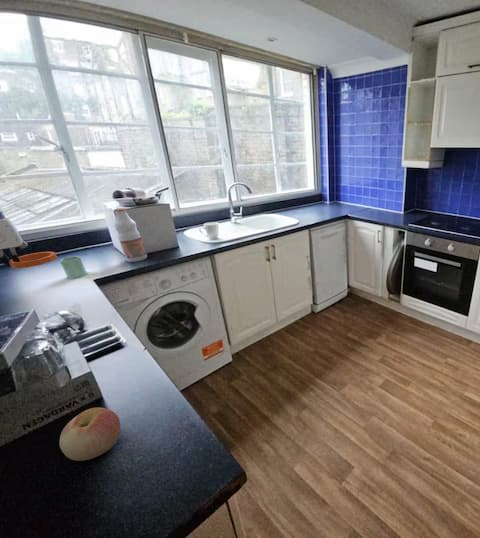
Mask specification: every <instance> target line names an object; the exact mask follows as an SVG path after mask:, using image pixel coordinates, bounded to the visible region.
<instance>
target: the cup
mask: <svg viewBox="0 0 480 538" xmlns="http://www.w3.org/2000/svg"><path fill="white" fill-rule="evenodd" d="M81 258H82V257H81V256H79V255H73V256H67V257H64V258H61V259H60V260H59V262H60V264H61V266H62V268H63V271H64V273H65V275H66V278H67V279H69V280H71V279H73V280H74V279H78V278H81V277H84V276H86V275H88V272H87V270H86V268H85V266H84V263H83V261H82V259H81Z"/></svg>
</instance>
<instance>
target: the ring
mask: <svg viewBox="0 0 480 538" xmlns="http://www.w3.org/2000/svg"><path fill="white" fill-rule="evenodd" d="M18 257H19V259H20V261H21V262H13V260H12V259H10V261H9V264H10V266H11V267H10V268H12V269H23V268H32V267H37V266H42V265H44V264H48V263H51V262H53V261H55V260H57V259H58V256H57V254H56V252H55V251H39V252H34V253H29V254H24V255H20V256H18Z"/></svg>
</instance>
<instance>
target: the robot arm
mask: <svg viewBox="0 0 480 538" xmlns="http://www.w3.org/2000/svg"><path fill="white" fill-rule="evenodd" d="M28 246H29V244H28V243H27V242H26V241H24V240H23V238H22V236H21V234H20V232H19V231H18V229H17V227H16V226H15V224H14V223H13V222H12V221H11V220H10V218H7V217H6V215H5V213H4V211H3V209H2V207H1V206H0V259H1V260H2V263H3V265H4V266H6V265H7V267H8V268H12V267H11V266H10V264H9V261H10V260H13V262H21V261H20V259H19V257H20V256H19V255H18V253H19V252H20V250H22V249H25V248H27V247H28ZM5 249H9V251H10V258H11V259H10V258H9V256H8V255H7V254H6V253H4V251H3V250H5Z"/></svg>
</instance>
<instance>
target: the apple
mask: <svg viewBox="0 0 480 538" xmlns="http://www.w3.org/2000/svg"><path fill="white" fill-rule="evenodd" d="M120 433H121V421H120V418H119V416H118V415H117V413H115V412H114V411H113V410H111V409H109V408H105V407H100V406H99V407H92V408H88V409H85V410H84V411H81V412H80V413H79V414H78V415H77V414H76V416H75V417H73V418H72V419H71V420H70V421H68V423H66V425H65V426H64V428H62V431H61V434H60V436H59V448H60V450H61V452H62V453H63V454H64V456H65V457H66V458H68V459H69V460H72V461H76V462H77V461H78V462H84V461H90V460H92V459H95V458H97V457H98V458H99V457H100V456H102V455H104V454H105V453H107V452H108V451H110V450H111V449H112V448H113V447H114V446H115V444H116V443H117V441H118V439H119V437H120Z"/></svg>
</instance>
